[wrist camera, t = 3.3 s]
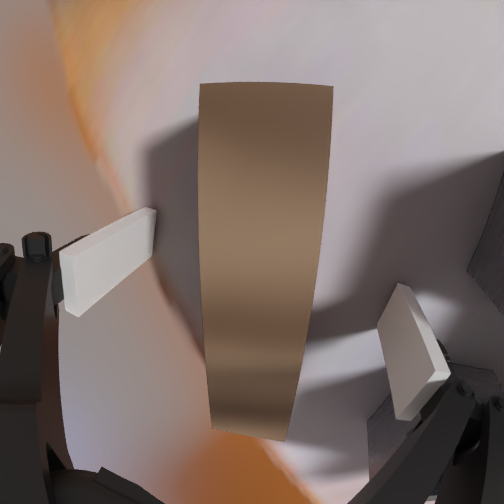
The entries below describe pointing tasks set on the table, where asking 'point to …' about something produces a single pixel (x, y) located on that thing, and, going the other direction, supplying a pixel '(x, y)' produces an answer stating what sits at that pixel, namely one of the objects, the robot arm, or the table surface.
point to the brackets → (482, 381)
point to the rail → (259, 243)
